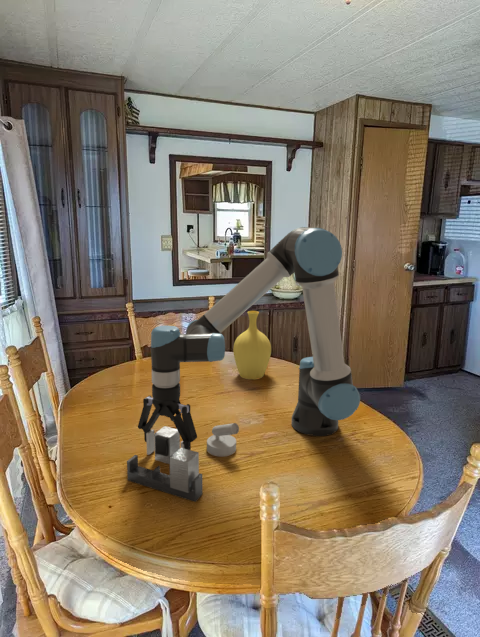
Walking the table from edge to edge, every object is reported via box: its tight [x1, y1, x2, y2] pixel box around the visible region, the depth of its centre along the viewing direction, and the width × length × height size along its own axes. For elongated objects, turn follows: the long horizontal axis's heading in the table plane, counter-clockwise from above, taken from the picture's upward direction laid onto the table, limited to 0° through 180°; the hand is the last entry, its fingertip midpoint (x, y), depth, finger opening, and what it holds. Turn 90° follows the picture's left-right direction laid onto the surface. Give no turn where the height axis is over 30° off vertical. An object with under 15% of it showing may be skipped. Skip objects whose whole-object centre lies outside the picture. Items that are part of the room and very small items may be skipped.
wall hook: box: [206, 422, 240, 457], centre depth 127 cm, size 9×10×10 cm
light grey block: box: [154, 425, 181, 465], centre depth 122 cm, size 6×5×8 cm
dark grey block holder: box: [126, 447, 203, 503], centre depth 108 cm, size 20×5×10 cm, turn 65°
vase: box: [232, 310, 272, 380], centre depth 186 cm, size 16×16×28 cm
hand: (167, 457), depth 123 cm, fingers open, 11 cm apart
